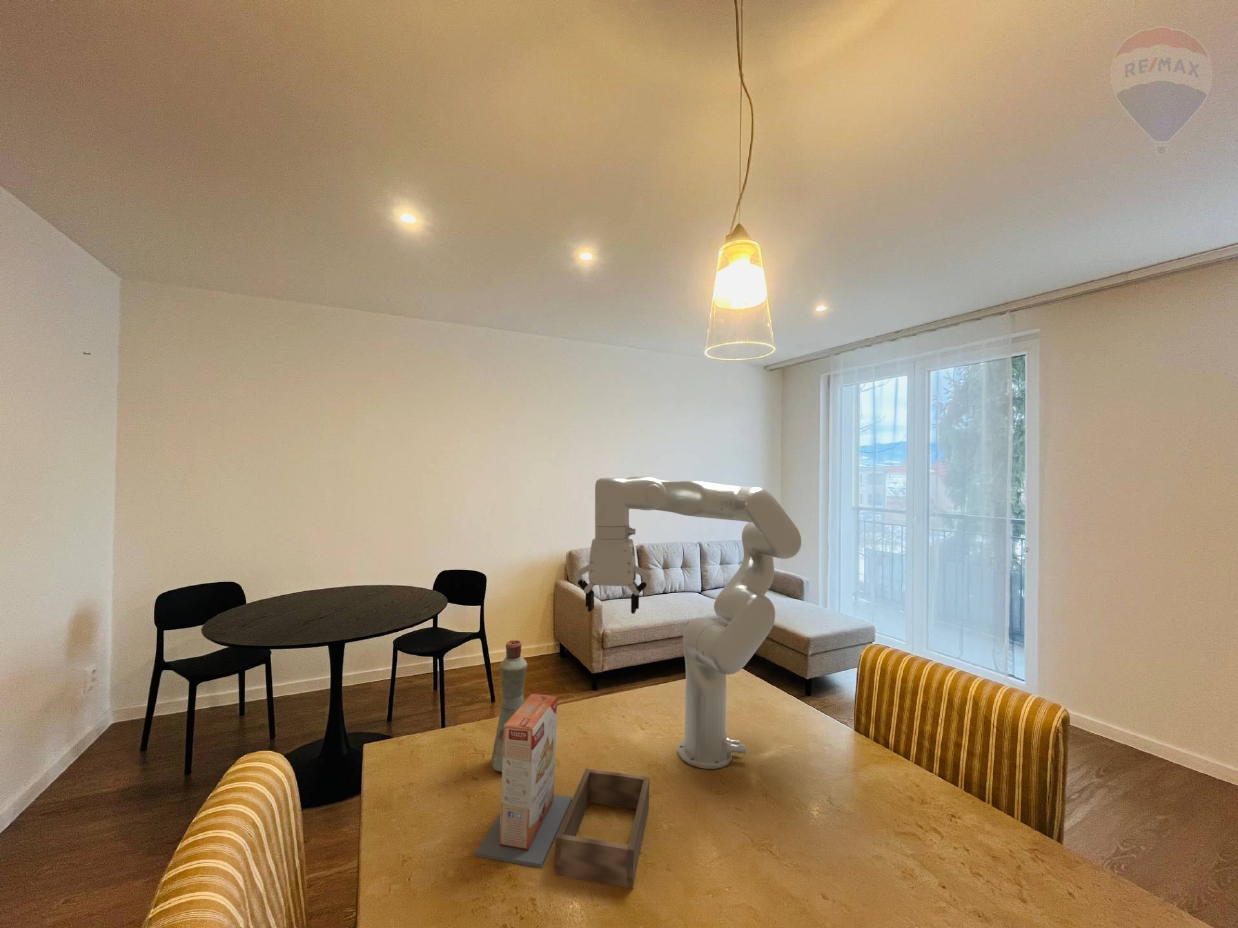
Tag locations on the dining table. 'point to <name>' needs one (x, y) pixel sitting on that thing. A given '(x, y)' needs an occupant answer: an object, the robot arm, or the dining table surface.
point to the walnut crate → (595, 855)
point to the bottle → (509, 695)
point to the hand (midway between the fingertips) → (612, 610)
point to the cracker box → (528, 770)
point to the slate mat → (537, 848)
